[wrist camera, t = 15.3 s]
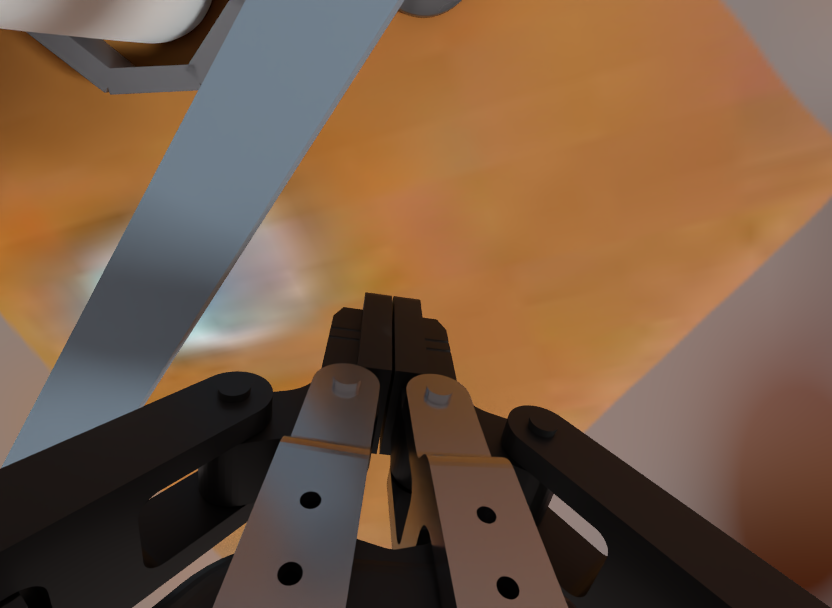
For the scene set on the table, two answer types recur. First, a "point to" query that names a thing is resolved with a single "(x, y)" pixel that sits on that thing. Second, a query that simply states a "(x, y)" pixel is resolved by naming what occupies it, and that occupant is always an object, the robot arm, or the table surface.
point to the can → (105, 18)
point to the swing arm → (204, 204)
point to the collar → (126, 78)
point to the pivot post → (427, 7)
